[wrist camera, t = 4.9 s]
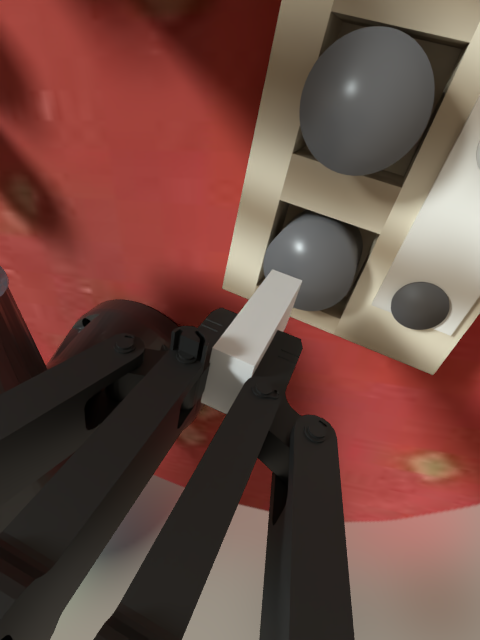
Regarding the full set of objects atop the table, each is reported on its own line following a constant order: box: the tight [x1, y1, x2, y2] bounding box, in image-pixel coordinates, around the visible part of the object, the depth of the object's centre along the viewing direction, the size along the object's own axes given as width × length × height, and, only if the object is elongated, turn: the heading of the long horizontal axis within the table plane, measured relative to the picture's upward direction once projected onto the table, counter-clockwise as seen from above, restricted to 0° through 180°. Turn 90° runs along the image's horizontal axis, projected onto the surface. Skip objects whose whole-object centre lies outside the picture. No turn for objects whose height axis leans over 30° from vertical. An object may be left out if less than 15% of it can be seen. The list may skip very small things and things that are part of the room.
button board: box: [222, 0, 480, 375], centre depth 17 cm, size 24×14×4 cm, turn 167°
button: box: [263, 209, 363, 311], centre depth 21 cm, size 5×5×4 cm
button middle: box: [299, 26, 435, 176], centre depth 16 cm, size 5×5×4 cm
